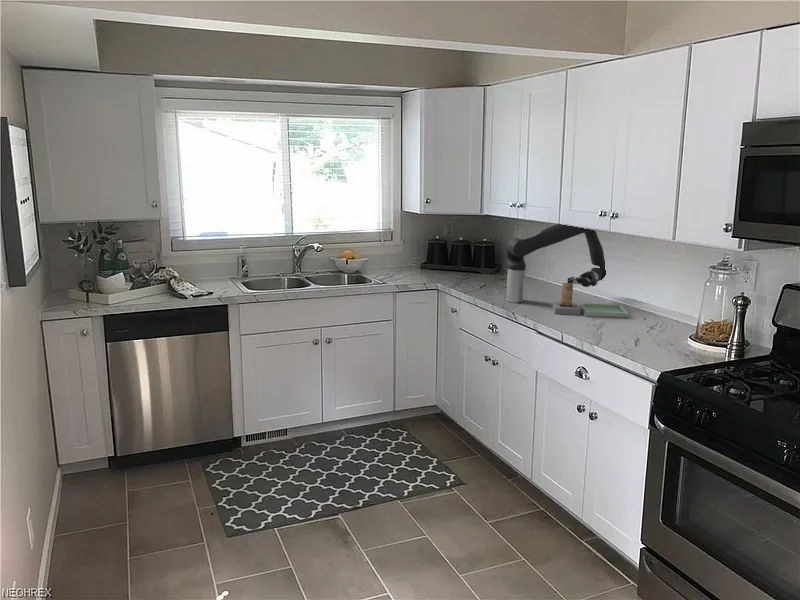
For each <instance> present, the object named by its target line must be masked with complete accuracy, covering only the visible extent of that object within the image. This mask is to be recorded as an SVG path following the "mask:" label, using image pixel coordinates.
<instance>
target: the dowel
mask: <svg viewBox="0 0 800 600" xmlns="http://www.w3.org/2000/svg"><path fill="white" fill-rule="evenodd" d="M561 288H562V289H561V300H560V301H561V302H560V303H561V307H572V303H573V292H574V291H573V290H574V284H572V283H567V282H564V283H562V287H561Z"/></svg>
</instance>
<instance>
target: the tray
mask: <svg viewBox="0 0 800 600" xmlns="http://www.w3.org/2000/svg"><path fill="white" fill-rule="evenodd" d="M579 307H580V309H581V310H580V312H582V314H583V315H584V317H586V318H606V319H607V318H610V319H629V312H628V311H627V310H626V309H625V308H624V306H623V305H621V304H609V303H603V304H602V303H587V302H586V303H583V302H580V303H579Z"/></svg>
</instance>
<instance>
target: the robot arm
mask: <svg viewBox="0 0 800 600" xmlns="http://www.w3.org/2000/svg"><path fill="white" fill-rule="evenodd" d="M582 234H584V236H585V239H586V242H587V246H588V250H589V256H590V262H591V264H592V265H593V266H596V267H592V268H591V269H590V270H588V271H585V272H583V273H581V274H580V275H579V276H576V277H575V276H569V277H567V282H566V283H572V284H573V285H581V286H582V287H584V288H589V287H595V286H597V285H598V282H600V281H603V280H602V279H603V278H604V277H605V275H606V270H605V261H606V259H605V254H604V249H603V245H602V244H601V241H600V239H599V236H598V233H597V230H596V231H594V230H590V229H584V228H578V227H573V226H567V225H561V224H560V223H557V224H553V225H550V226H548V227H547V228H544V229H543V230H542V231H540V232H539V233H537V234H536V235H533V236H531V237H530V236H529V237H526V238H523V239H522V238H518V237H513V238H512V239H510V240H509V242H508V243H507V247H506V248H507V249H506V264H507V277H506V296H505V297H506V298H505V300H506V302H508V303H514V304H515V303H516V304H517V303H519V302H521V303H524V302H523V301H525V288H526V287H525V285H526V268H527V265H526V262H525V256H527V255H529V254H531V253H533V252H535V251H538V250H540V249H542V248H547V247H548V246H552V245H554V244H558V243H560V242H563V241H565V240H568V239H570V238H573V237H577V236H579V235H582ZM604 259H605V260H604ZM597 267H600V268H597ZM519 304H520V303H519Z"/></svg>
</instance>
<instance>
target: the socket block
mask: <svg viewBox="0 0 800 600" xmlns="http://www.w3.org/2000/svg"><path fill="white" fill-rule="evenodd" d="M551 308H552V311H553V313H554V315H571V316H572V315H573V316H574V315H575V316H576V315H577V316H580V315H581V309H580V305H579V304H578V303H575V302H572V307H561V302H552V307H551Z"/></svg>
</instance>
